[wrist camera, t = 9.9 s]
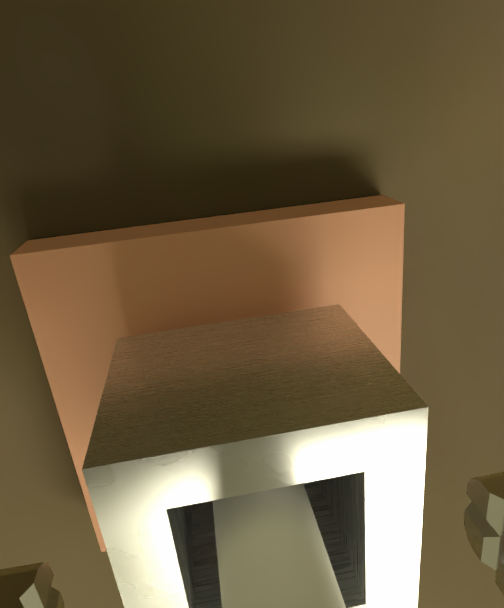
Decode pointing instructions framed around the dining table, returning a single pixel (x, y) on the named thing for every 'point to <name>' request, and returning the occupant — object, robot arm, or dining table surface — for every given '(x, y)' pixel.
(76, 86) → the dining table surface
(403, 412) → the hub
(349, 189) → the dining table surface
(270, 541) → the shaft block
